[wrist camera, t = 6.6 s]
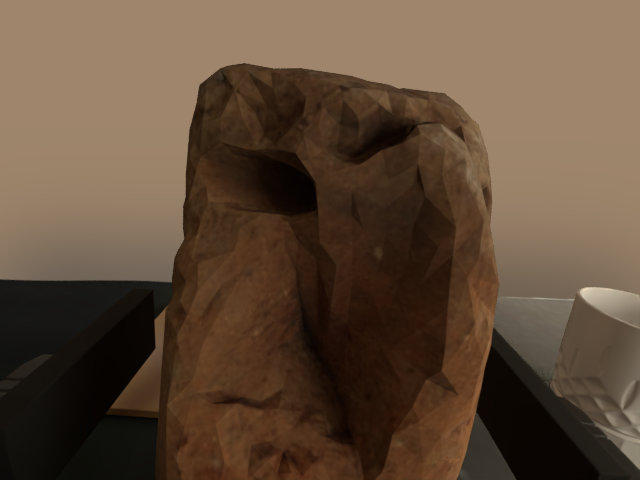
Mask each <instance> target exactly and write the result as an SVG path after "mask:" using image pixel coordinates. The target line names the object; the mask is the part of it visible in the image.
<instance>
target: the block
mask: <svg viewBox="0 0 640 480" xmlns="http://www.w3.org/2000/svg"><path fill="white" fill-rule="evenodd" d="M491 209H492V193H491V179H490V171H489V163H488V155H487V151H486V148H485V145H484V142H483V138H482V135H481V132H480V129H479V125H478V124H477V123H476V122H475V121H474V120H472V119H471V118H470V117H469V115H468V114H467V113H466V112H465V111H464V109H463V108H462V107H461V106H460V105H459V104H457V103H456V102H455V101H454V100H452V99H451V98H450V97H448V96H447V95H446V94H444V93H436V92H428V91H420V90H412V89H405V88H402V89H398V88H395V87H393V86H390V85H387V84H382V83H376V82H370V81H366V80H363V79H360V78H356V77H353V76H348V75H341V74H335V73H328V72H322V71H315V70H308V69H302V68H299V69H298V68H290V69H273V68H267V67H262V66H256V65H251V64H245V63H243V64H237V65H230V66H226V67H223V68H220V69H219V70H218V71H217V72H215V73H214V74H213V75H212V76H210V77H209V78H208V79H207V80H205V81H204V82H203V83H202V84H200V86H199V92H198V98H197V104H196V108H195V111H194V115H193V119H192V123H191V127H190V133H189V143H188V156H187V167H186V198H185V202H184V206H183V230H184V241H183V243H182V244H181V246H180V248H179V250H178V251H177V254H176V256H175V260H174V268H173V276H172V290H173V297H172V299H171V301H170V303H169V304H168V306H167V308H166V312H165V327H164V342H163V355H162V368H161V383H160V398H159V413H158V429H157V448H156V466H155V476H156V480H457V478H458V475H459V472H460V469H461V466H462V463H463V460H464V457H465V454H466V450H467V446H468V442H469V438H470V433H471V429H472V425H473V421H474V417H475V413H476V409H477V404H478V400H479V395H480V391H481V386H482V381H483V375H484V369H485V365H486V362H487V358H488V354H489V351H490V347H491V341H492V332H493V323H494V315H495V308H496V302H497V295H498V288H499V279H498V273H497V266H496V260H495V254H494V246H493V240H492V235H491V230H490V221H491V220H490V219H491Z"/></svg>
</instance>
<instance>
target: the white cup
mask: <svg viewBox="0 0 640 480" xmlns="http://www.w3.org/2000/svg"><path fill="white" fill-rule="evenodd" d="M550 389H551V390H552V391H553V392H554V393H555V394H556V395H557V396H558V397H564V398H566V399H567V400H569V401H570V402H571V403H573V404H574V405H576V406H577V407H578V408H580V409H581V410H582V411H583V412H584V413H585V414H586V415H587V416H588V417H589V418H590V419H591V420H592V421H593V422H594V423H595V425H596V427H599V428H600V429H601V430H602V431H603V432H604V433H605V434H606V435H607V438H608V439H610V440H611V441H612V442H613V443H614V444H615V445H616V446H617V447H618V448H619V449H620V450H621V451H622V452H623V453H624V454H625V455H626V456H627V457H628V458H629V459H630V460H631V461H632V462H633V463H634V464H635V465H636V466H637V467H638V468H639V469H640V295H638V294H634V293H630V292H626V291H621V290H615V289H610V288H602V287H585V288H580V289H579V290H578V291H577V293H576V297H575V300H574V303H573V307H572V310H571V313H570V316H569V320H568V323H567V326H566V329H565V332H564V335H563V339H562V342H561V345H560V349H559V355H558V357H557V360H556V363H555V367H554V375H553V380H552V382H551V385H550Z"/></svg>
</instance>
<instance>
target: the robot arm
mask: <svg viewBox="0 0 640 480" xmlns="http://www.w3.org/2000/svg"><path fill="white" fill-rule="evenodd" d="M155 349H156V342H155V319H154V297H153V290H147V289H136V288H134V289H132V290H131V291H130V292H129V293H128V294H126V295H125V296H124V297H123V298H122V299H120V300H119V301H118V302H117V303H115V304H114V305H113V306H112V307H111V308H109V309H108V310H107V311H106V312H105V313H103V314H102V315H101V316H100V317H98V318H97V319H96V320H95V321H94V322H92V323H91V324H90V325H89V326H87V327H86V328H85V329H84V330H83V331H81V332H80V333H79V334H78V335H77V336H75V337H74V338H73V339H72V340H70V341H69V342H68V343H67V344H66V345H64V346H63V347H62V348H61V349H59V350H58V351H57V352H56V353H55V354H53V355H47V354H43V355H41V356H39V357H37V358H35V359H33V360H31V361H29V362H27V363H25V364H23V365H21V366H20V367H19V368H17V369H16V370H15V371H14V372H12V373H11V374H10V375H8V376H7V377H6V379H5V380H2V381H1V382H0V480H55V479H56V478H57V477H58V475H59V474H60V473H61V472H62V470H63V469H64V468H65V466H66V465H67V464H68V462H69V461H70V460H71V458H72V457H73V456H74V455H75V453H76V452H77V451H78V449H79V448H80V447H81V445H82V444H83V443H84V441H85V440H86V439H87V438H88V436H89V435H90V434H91V432H92V431H93V430H94V428H95V427H96V426H97V424H98V423H99V422H100V421H101V419H102V418H103V417H104V415H105V414H106V413H107V411H108V410H109V409H110V407H111V406H112V405H113V404H114V402H115V401H116V400H117V398H118V397H119V396H120V394H121V393H122V392H123V390H124V389H125V388H126V387H127V385H128V384H129V383H130V381H131V380H132V379H133V377H134V376H135V375H136V374H137V372H138V371H139V370H140V368H141V367H142V366H143V364H144V363H145V362H146V360H147V359H148V358H149V357H150V355H151V354H152V353H153V351H154V350H155ZM476 411H477V413H478V414H479V416H480V418H481V419H482V421H483V423H484V425H485V426H486V428H487V430H488V431H489V433H490V435H491V437H492V438H493V440H494V442H495V443H496V445H497V447H498V449H499V450H500V452H501V454H502V455H503V457H504V459H505V460H506V462H507V464H508V466H509V467H510V469H511V471H512V472H513V474H514V476H515V478H516V479H517V480H640V469H639V468H638V467H637V466H636V465H635V464H634V463H633V462H632V461H631V460H630V459H629V458H628V457H627V456H626V455H625V454H624V453H623V452H622V451H621V450H620V449H619V448H618V447H617V446H616V445H615V444H614V443H613V442H612V441H611V440H610V439H608V438H607V435H606V434H605V433H604V432H603V431H602V430H601V429H600V428H599V427H596V425H595V423H594V422H593V421H592V420H591V419H590V418H589V417H588V416H587V415H586V414H585V413H584V412H583V411H582V410H581V409H580V408H578V407H577V406H576V405H574V404H573V403H571V402H570V401H569V400H567V399H566V398H564V397H558V396H557V395H556V394H555V393H554V392H553V391H552V390H551V389H550V388H549V387H548V385H547V384H546V383H545V382H544V381H543V380H542V379H541V378H540V377H539V376H538V375H537V374H536V373H535V372H534V370H533V369H532V368H531V367H530V366H529V365H528V364H527V363H526V362H525V361H524V360H523V359H522V358H521V357H520V355H519V354H518V353H517V352H516V351H515V350H514V349H513V348H512V347H511V346H510V345H509V344H508V343H507V342H506V340H505V339H504V338H503V337H502V336H501V335H500V334H499V333H498V332H497V331H496V330H495V329H494V328H493V332H492V341H491V347H490V351H489V354H488V358H487V362H486V365H485V369H484V375H483V381H482V386H481V391H480V395H479V400H478V404H477V409H476Z"/></svg>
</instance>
